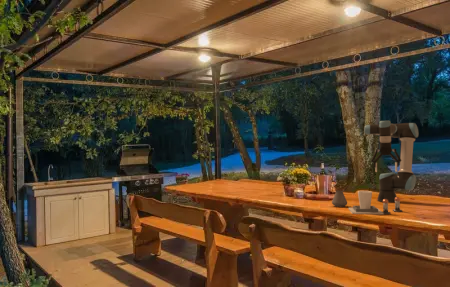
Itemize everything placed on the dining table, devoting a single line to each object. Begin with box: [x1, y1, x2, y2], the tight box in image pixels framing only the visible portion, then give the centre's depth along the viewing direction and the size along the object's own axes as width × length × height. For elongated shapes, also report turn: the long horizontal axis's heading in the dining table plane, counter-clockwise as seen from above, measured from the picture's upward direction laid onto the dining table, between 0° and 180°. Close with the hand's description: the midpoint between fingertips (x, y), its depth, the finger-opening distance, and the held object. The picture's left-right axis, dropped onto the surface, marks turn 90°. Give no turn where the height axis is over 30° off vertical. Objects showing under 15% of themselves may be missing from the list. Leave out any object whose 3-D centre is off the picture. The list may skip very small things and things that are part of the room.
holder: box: [347, 205, 385, 215], centre depth 263 cm, size 20×20×3 cm
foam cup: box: [357, 190, 373, 209], centre depth 263 cm, size 10×9×13 cm
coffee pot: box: [331, 184, 351, 208], centre depth 291 cm, size 21×12×15 cm, turn 134°
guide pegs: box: [382, 196, 403, 216], centre depth 258 cm, size 6×20×10 cm, turn 124°
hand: (386, 171), depth 270 cm, fingers open, 13 cm apart
